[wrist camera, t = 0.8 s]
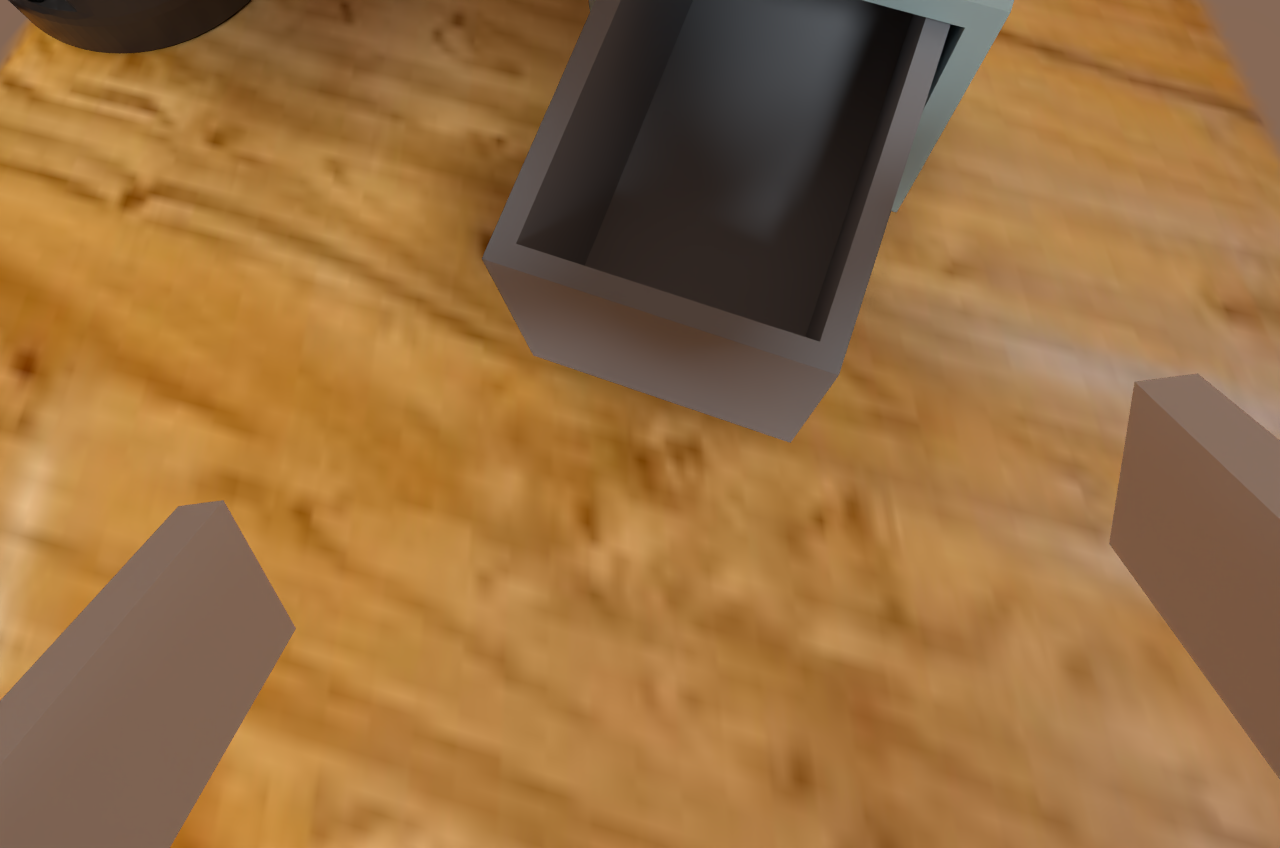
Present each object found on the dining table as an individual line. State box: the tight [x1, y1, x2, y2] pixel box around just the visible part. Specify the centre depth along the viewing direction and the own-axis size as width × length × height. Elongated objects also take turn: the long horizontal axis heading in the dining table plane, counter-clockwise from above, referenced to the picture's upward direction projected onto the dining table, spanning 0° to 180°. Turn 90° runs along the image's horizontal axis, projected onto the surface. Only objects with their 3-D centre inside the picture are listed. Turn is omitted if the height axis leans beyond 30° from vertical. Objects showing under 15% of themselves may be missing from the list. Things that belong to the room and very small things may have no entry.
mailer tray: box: [482, 0, 950, 443], centre depth 30 cm, size 24×11×9 cm, turn 160°
